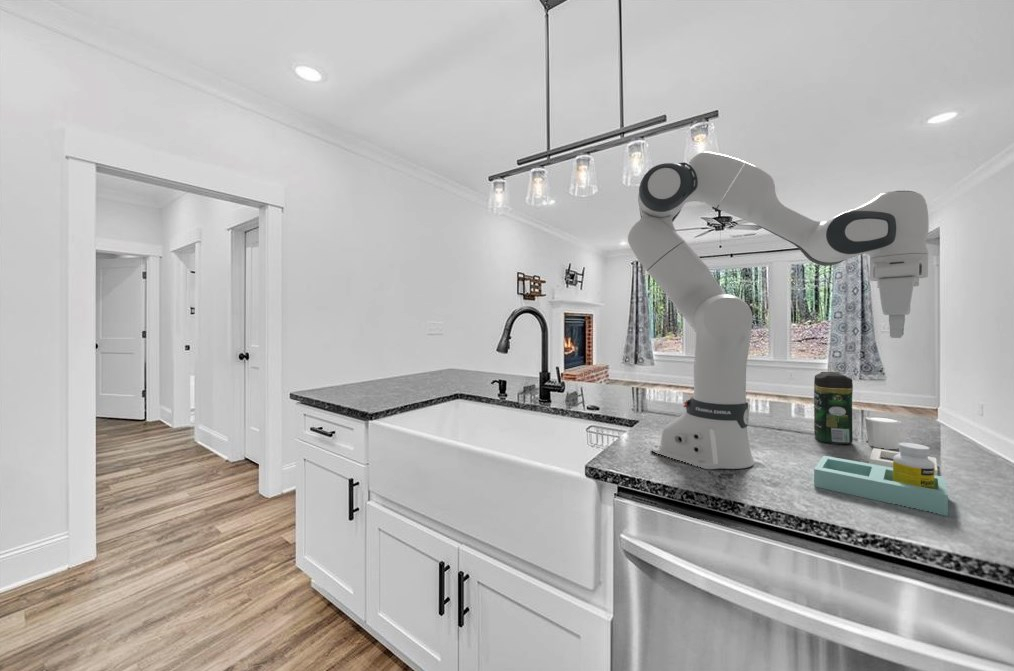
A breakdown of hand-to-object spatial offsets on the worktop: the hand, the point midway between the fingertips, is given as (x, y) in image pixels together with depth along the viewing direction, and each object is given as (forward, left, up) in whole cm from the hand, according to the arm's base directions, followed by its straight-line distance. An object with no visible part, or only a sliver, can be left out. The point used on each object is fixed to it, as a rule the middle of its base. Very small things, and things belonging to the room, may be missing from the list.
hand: (897, 336), depth 86 cm
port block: (-2, -14, -29) cm, 32 cm away
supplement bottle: (+3, -14, -29) cm, 33 cm away
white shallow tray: (+1, +8, -29) cm, 30 cm away
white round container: (-3, +23, -29) cm, 37 cm away
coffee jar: (-13, +21, -29) cm, 38 cm away
